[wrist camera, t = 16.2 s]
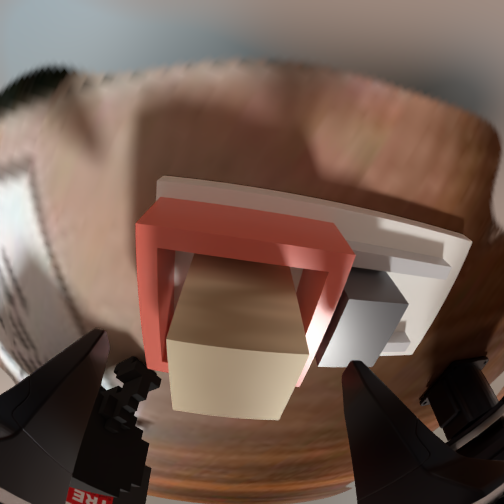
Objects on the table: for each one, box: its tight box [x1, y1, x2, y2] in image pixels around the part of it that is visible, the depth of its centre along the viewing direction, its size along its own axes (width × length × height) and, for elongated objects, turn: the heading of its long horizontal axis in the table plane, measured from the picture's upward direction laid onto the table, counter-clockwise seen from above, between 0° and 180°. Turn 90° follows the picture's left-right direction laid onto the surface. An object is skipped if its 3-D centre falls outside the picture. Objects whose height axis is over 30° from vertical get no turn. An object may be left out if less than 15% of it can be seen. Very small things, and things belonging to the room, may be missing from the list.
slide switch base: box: [136, 175, 472, 387], centre depth 13 cm, size 17×9×4 cm, turn 81°
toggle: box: [315, 267, 409, 367], centre depth 13 cm, size 3×4×3 cm
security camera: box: [69, 356, 161, 498], centre depth 16 cm, size 7×18×10 cm, turn 125°
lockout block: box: [166, 253, 310, 420], centre depth 11 cm, size 4×4×6 cm
